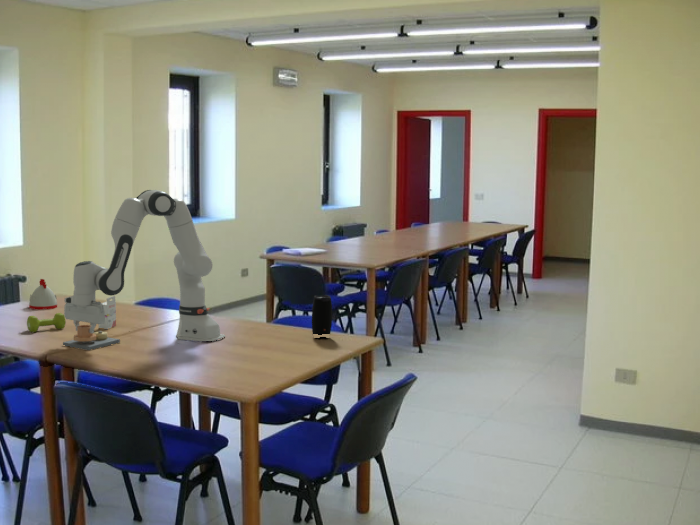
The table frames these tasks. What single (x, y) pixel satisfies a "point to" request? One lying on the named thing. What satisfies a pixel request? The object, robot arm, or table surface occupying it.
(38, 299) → the white and red dome
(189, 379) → the table surface
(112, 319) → the ink cartridge box
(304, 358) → the table surface
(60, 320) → the dumbbell
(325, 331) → the portable speaker
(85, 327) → the octagonal tube stub
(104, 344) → the carrier plate
